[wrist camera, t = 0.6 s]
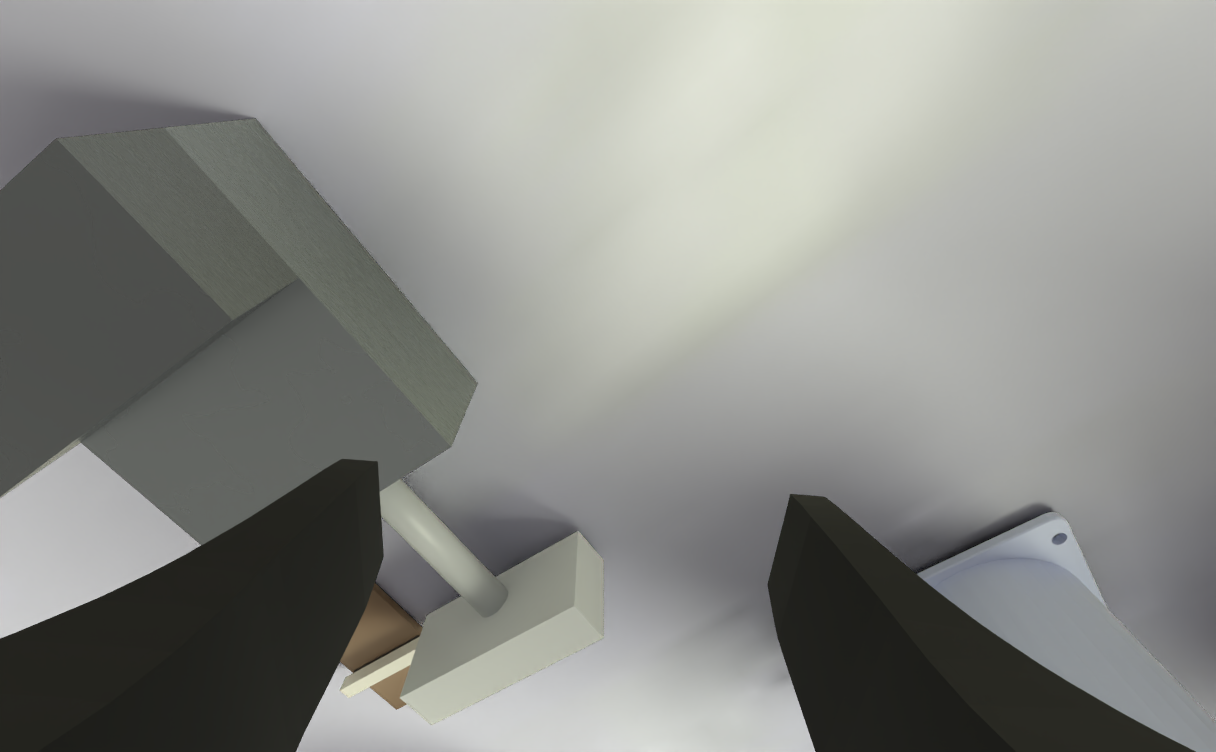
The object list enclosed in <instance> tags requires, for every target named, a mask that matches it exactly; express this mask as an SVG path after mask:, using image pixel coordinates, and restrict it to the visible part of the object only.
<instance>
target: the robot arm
mask: <svg viewBox="0 0 1216 752" xmlns="http://www.w3.org/2000/svg"><path fill="white" fill-rule="evenodd" d="M1056 534H1058V535H1057V536H1055V535H1056ZM1054 536H1055V537H1054ZM383 557H384V556H383V539H382V522H381V505H380V489H379V472H378V461H366V460H353V459H341V460H339V461H337V462H335V463H334V464H332V465H330V466H329V467H327V468H325V469H324V470H322V471H321V472H319V473H318V474H316V475H314V476H313V477H311V478H310V479H308V480H307V481H305V482H304V483H302V484H301V485H299V486H298V487H296V488H295V489H293V490H291V491H290V492H288V493H287V494H285V495H284V496H282V497H281V498H279V499H277V500H276V501H274V502H273V503H271V504H270V505H268V506H266V507H265V508H263V509H262V510H260V511H259V512H257V513H255V514H254V515H252V516H251V517H249V518H248V519H246V520H244V521H243V522H241V523H239V524H237V525H236V526H234V527H232V528H231V529H229V530H227V531H225V532H224V533H222V534H220V535H219V536H217V537H215V538H213V539H212V540H210V541H208V542H206V543H205V544H203V545H201V546H200V547H198V548H196V549H194V550H193V551H191V552H189V553H188V554H186V555H184V556H182V557H180V558H178V559H176V560H175V561H173V562H171V563H169V564H167V565H165V566H163V567H161V568H159V569H157V570H155V571H153V572H152V573H150V574H148V575H145V576H143V577H141V578H139V579H137V580H135V581H133V582H131V583H129V584H127V585H125V586H123V587H121V588H119V589H117V590H114V591H112V592H110V593H108V594H106V595H104V596H102V597H99V598H97V599H95V600H93V601H90V602H88V603H85V604H83V605H81V606H78V607H76V608H74V609H71V610H69V611H66V612H64V613H62V614H59V615H57V616H54V617H52V618H50V619H47V620H45V621H42V622H40V623H38V624H35V625H33V626H31V627H28V628H26V629H23V630H21V631H19V632H16V633H14V634H11V635H9V636H6V637H3V638H1V639H0V752H296V750H297V748H298V745H299V743H300V741H301V739H302V736H303V734H304V732H305V730H306V728H307V726H308V724H309V722H310V720H311V718H312V716H313V714H314V712H315V710H316V708H317V706H318V704H319V702H320V700H321V698H322V696H323V694H324V692H325V690H326V688H327V686H328V684H329V682H330V680H331V678H332V676H333V674H334V672H335V670H336V668H337V666H338V664H339V662H340V660H341V658H342V656H343V654H344V652H345V650H346V648H347V646H348V644H349V642H350V640H351V638H352V636H353V634H354V632H355V630H356V628H357V626H358V624H359V622H360V620H361V618H362V615H363V613H364V611H365V609H366V606H367V604H368V601H369V598H370V595H371V592H372V590H373V587H374V584H375V581H376V578H377V575H378V572H379V569H380V566H381V563H382V560H383ZM768 589H769V595H770V601H771V606H772V612H773V617H774V622H775V627H776V631H777V636H778V640H779V643H780V646H781V650H782V653H783V656H784V659H785V662H786V665H787V668H788V671H789V674H790V677H791V680H792V683H793V686H794V689H795V692H796V695H797V698H798V701H799V704H800V707H801V710H802V713H803V716H804V719H805V722H806V725H807V728H808V731H809V734H810V737H811V739H812V742H813V745H814V748H815V751H816V752H1216V721H1215V720H1214V719H1213V718H1212V717H1211V716H1210V715H1209V714H1208V713H1207V712H1206V711H1205V710H1204V709H1203V707H1202V706H1201V705H1200V704H1199V703H1198V702H1197V701H1196V700H1195V699H1194V698H1193V697H1192V696H1191V695H1190V694H1189V693H1188V692H1187V691H1186V690H1185V689H1184V688H1183V687H1182V686H1181V685H1180V684H1179V683H1178V681H1177V680H1176V679H1175V678H1174V677H1173V676H1172V675H1171V674H1170V673H1169V672H1168V671H1167V670H1166V669H1165V668H1164V667H1163V666H1162V665H1161V664H1160V663H1159V662H1158V661H1157V660H1156V659H1155V658H1154V657H1153V655H1152V654H1151V653H1150V652H1149V651H1148V650H1147V649H1146V648H1145V647H1144V646H1143V645H1142V644H1141V643H1140V642H1139V641H1138V640H1137V639H1136V638H1135V637H1134V636H1133V635H1132V634H1131V633H1130V632H1129V631H1128V629H1127V628H1126V627H1125V626H1124V625H1123V624H1122V623H1121V622H1120V621H1119V620H1118V619H1117V618H1116V617H1115V616H1114V615H1113V614H1112V613H1111V612H1110V611H1109V610H1108V608H1107V605H1106V603H1105V601H1104V599H1103V597H1102V595H1101V592H1100V590H1099V588H1098V586H1097V584H1096V582H1095V579H1094V577H1093V575H1092V573H1091V571H1090V568H1089V566H1088V564H1087V562H1086V560H1085V558H1084V555H1083V553H1082V551H1081V549H1080V547H1079V545H1078V542H1077V540H1076V538H1075V536H1074V534H1073V531H1072V529H1071V527H1070V525H1069V523H1068V521H1067V520H1066V519H1065V518H1064V517H1063V516H1062V515H1061V514H1059V513H1057V512H1049V513H1045V514H1043V515H1041V516H1038V517H1036V518H1034V519H1032V520H1030V521H1028V522H1026V523H1024V524H1021V525H1019V526H1017V527H1015V528H1013V529H1011V530H1009V531H1007V532H1005V533H1002V534H1000V535H998V536H996V537H994V538H992V539H990V540H988V541H985V542H983V543H981V544H979V545H977V546H975V547H973V548H971V549H968V550H966V551H964V552H962V553H960V554H958V555H956V556H954V557H951V558H949V559H947V560H945V561H943V562H941V563H939V564H937V565H934V566H932V567H930V568H928V569H926V570H924V571H922V572H920V573H918V574H916V573H914V572H913V571H912V570H911V569H910V568H908V567H907V566H906V565H905V564H904V563H902V562H901V561H900V560H899V559H898V558H897V557H895V556H894V555H893V554H892V553H891V552H890V551H888V550H887V549H886V548H885V547H884V546H883V545H881V544H880V543H879V542H878V541H877V540H876V539H874V538H873V537H872V536H871V535H870V534H869V533H868V532H866V531H865V530H864V529H863V528H862V527H861V526H860V525H858V524H857V523H856V522H855V521H854V520H853V519H851V518H850V517H849V516H848V515H847V514H846V513H844V512H843V511H842V510H841V509H840V508H838V507H837V506H836V505H835V504H833V503H832V502H831V501H830V500H828V499H827V498H826V497H821V496H808V495H796V494H790V498H789V502H788V506H787V510H786V514H785V518H784V522H783V526H782V530H781V534H780V538H779V542H778V546H777V550H776V553H775V557H774V561H773V565H772V569H771V573H770V577H769V581H768Z"/></svg>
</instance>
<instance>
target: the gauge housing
mask: <svg viewBox="0 0 1216 752" xmlns="http://www.w3.org/2000/svg"><path fill="white" fill-rule="evenodd" d="M477 384H478V383H477V382H476V381H475V379H474V378H473V377H472V376H471V375H470V374H469V372H468V371H467V370H466V369H465V368H464V366H463V365H462V364H461V363H460V362H459V360H458V359H457V358H456V357H455V356H454V354H453V353H452V352H451V351H450V350H449V348H448V347H447V346H446V345H445V344H444V343H443V341H442V340H441V339H440V338H439V337H438V335H437V334H436V333H435V332H434V331H433V329H432V328H431V327H430V326H429V325H428V323H427V322H426V321H425V320H424V319H423V317H422V316H421V315H420V314H419V313H418V312H417V310H416V309H415V308H414V307H413V306H412V304H411V303H410V302H409V301H408V300H407V298H406V297H405V296H404V295H403V294H402V292H401V291H400V290H399V289H398V288H397V287H396V285H395V284H394V283H393V282H392V281H391V279H390V278H389V277H388V276H387V275H386V273H385V272H384V271H383V270H382V269H381V267H380V266H379V265H378V264H377V263H376V261H375V260H374V259H373V258H372V257H371V256H370V254H369V253H368V252H367V251H366V250H365V248H364V247H363V246H362V245H361V244H360V242H359V241H358V240H357V239H356V238H355V236H354V235H353V234H352V233H351V232H350V231H349V229H348V228H347V227H346V226H345V225H344V223H343V222H342V221H341V220H340V219H339V217H338V216H337V215H336V214H335V213H334V211H333V210H332V209H331V208H330V207H329V205H328V204H327V203H326V202H325V201H324V200H323V198H322V197H321V196H320V195H319V194H318V192H317V191H316V190H315V189H314V188H313V186H312V185H311V184H310V183H309V182H308V180H307V179H306V178H305V177H304V176H303V174H302V173H301V172H300V171H299V170H298V169H297V167H296V166H295V165H294V164H293V163H292V161H291V160H290V159H289V158H288V157H287V155H286V154H285V153H284V152H283V151H282V149H281V148H280V147H279V146H278V145H277V144H276V142H275V141H274V140H273V139H272V138H271V136H270V135H269V134H268V133H267V132H266V130H265V129H264V128H263V127H262V126H261V124H260V123H259V122H258V121H257V120H256V118H254V119H244V120H234V121H224V122H215V123H205V124H195V125H185V126H175V127H165V128H155V129H145V130H135V131H125V132H116V133H106V134H96V135H86V136H76V137H66V138H56V139H55V140H54V141H53V142H52V143H51V144H50V145H49V146H48V147H47V148H45V149H44V150H43V151H42V152H41V153H40V154H39V155H38V156H37V157H36V158H35V159H34V160H33V161H32V162H31V163H29V164H28V165H27V166H26V167H25V168H24V169H23V170H22V171H21V172H20V173H19V174H18V175H17V176H16V177H14V178H13V179H12V180H11V181H10V182H9V183H8V184H7V185H6V186H5V187H4V188H3V189H2V190H1V191H0V498H1V497H3V496H4V495H6V494H7V493H9V492H10V491H11V490H13V489H14V488H16V487H17V486H19V485H20V484H22V483H23V482H24V481H26V480H27V479H29V478H30V477H32V476H33V475H35V474H36V473H38V472H39V471H40V470H42V469H43V468H45V467H46V466H48V465H49V464H51V463H52V462H53V461H55V460H56V459H58V458H59V457H61V456H62V455H64V454H65V453H67V452H68V451H69V450H71V449H72V448H74V447H75V446H77V445H78V444H80V443H82V444H83V445H84V446H85V447H87V448H88V449H89V450H90V451H91V452H92V453H94V454H95V455H96V456H97V457H98V458H100V459H101V460H102V461H103V462H104V463H105V464H107V465H108V466H109V467H110V468H111V469H112V470H114V471H115V472H116V473H117V474H118V475H120V476H121V477H122V478H123V479H124V480H125V481H127V482H128V483H129V484H130V485H131V486H132V487H134V488H135V489H136V490H137V491H138V492H140V493H141V494H142V495H143V496H144V497H145V498H147V499H148V500H149V501H150V502H151V503H152V504H154V505H155V506H156V507H157V508H158V509H159V510H161V511H162V512H163V513H164V514H165V515H167V516H168V517H169V518H170V519H171V520H172V521H174V522H175V523H176V524H177V525H178V526H179V527H181V528H182V529H183V530H184V531H185V532H187V533H188V534H189V535H190V536H191V537H192V538H194V539H195V540H196V541H197V542H198V543H199V544H201V545H203V544H205V543H206V542H208V541H210V540H212V539H213V538H215V537H217V536H219V535H220V534H222V533H224V532H225V531H227V530H229V529H231V528H232V527H234V526H236V525H237V524H239V523H241V522H243V521H244V520H246V519H248V518H249V517H251V516H252V515H254V514H255V513H257V512H259V511H260V510H262V509H263V508H265V507H266V506H268V505H270V504H271V503H273V502H274V501H276V500H277V499H279V498H281V497H282V496H284V495H285V494H287V493H288V492H290V491H291V490H293V489H295V488H296V487H298V486H299V485H301V484H302V483H304V482H305V481H307V480H308V479H310V478H311V477H313V476H314V475H316V474H318V473H319V472H321V471H322V470H324V469H325V468H327V467H329V466H330V465H332V464H334V463H335V462H337V461H339V460H341V459H353V460H366V461H378V472H379V489H380V491H382V490H383V489H385V488H387V487H388V486H390V485H391V484H393V483H395V482H396V481H398V480H399V479H401V478H403V477H404V476H406V475H407V474H409V473H411V472H412V471H414V470H415V469H417V468H419V467H420V466H422V465H423V464H425V463H426V462H428V461H430V460H431V459H433V458H434V457H436V456H438V455H439V454H441V453H442V452H444V451H446V450H447V449H449V448H450V447H451V446H452V444H453V442H454V439H455V437H456V434H457V432H458V430H459V427H460V425H461V422H462V420H463V418H464V415H465V413H466V410H467V408H468V405H469V403H470V401H471V398H472V396H473V393H474V391H475V389H476V386H477Z"/></svg>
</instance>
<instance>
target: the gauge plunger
mask: <svg viewBox="0 0 1216 752" xmlns="http://www.w3.org/2000/svg"><path fill="white" fill-rule="evenodd" d="M380 505H381V517H382V518H383V519H384V520H385V521H386V522H387V523H388V524H389V525H390V526H391V527H392V528H393V529H394V530H395V531H396V532H397V533H398V534H399V535H400V536H401V537H402V538H403V539H404V540H405V541H406V542H407V543H408V544H409V545H410V546H411V547H412V548H413V549H414V550H416V551H417V552H418V553H419V554H420V555H421V556H422V557H423V558H424V559H425V560H426V561H427V562H428V563H429V564H430V565H431V566H432V567H433V568H434V569H435V570H436V571H437V572H438V573H439V574H440V575H441V576H442V577H443V578H444V579H445V580H446V581H447V582H448V583H449V584H450V585H451V586H452V587H453V588H454V589H455V590H456V591H457V592H458V593H459V594H460V595H461V596H460V597H459V598H457V599H455V600H453V601H451V602H450V603H448V604H446V605H444V606H442V607H441V608H439V609H437V610H435V611H434V612H432V613H430V614H428V615H427V616H426V619H425V622H424V625H423V628H422V631H421V634H420V637H418V638H416V639H415V640H413V641H411V642H409V643H407V644H406V645H404V646H402V647H400V648H398V649H396V650H395V651H393V652H391V653H389V654H387V655H386V656H384V657H382V658H380V659H378V660H376V661H375V662H373V663H371V664H369V665H367V666H366V667H364V668H362V669H360V670H358V671H356V672H355V673H353V674H351V675H349V676H347V677H346V678H345V680H344V682H343V684H342V687H341V689H340V691H341V692H342V693H343V694H345V695H346V696H347V697H348V698H350V697H352V696H354V695H355V694H357V693H359V692H361V691H363V690H365V689H367V688H368V687H370V686H372V685H374V684H376V683H378V682H380V681H381V680H383V679H385V678H387V677H389V676H391V675H393V674H394V673H396V672H398V671H400V670H402V669H404V668H406V667H407V666H409V665H410V668H409V671H408V674H407V677H406V680H405V683H404V686H403V689H402V692H401V695H400V699H401V700H403V701H404V702H405V703H406V704H407V705H408V706H410V707H411V708H412V709H413V710H414V711H415V712H416V713H418V714H419V715H420V716H421V717H422V718H423V719H425V720H426V721H427V722H428V723H429V724H430V725H433V724H435V723H437V722H439V721H441V720H443V719H445V718H447V717H449V716H451V715H453V714H455V713H457V712H459V711H461V710H463V709H465V708H467V707H469V706H471V705H473V704H475V703H477V702H479V701H481V700H483V699H485V698H487V697H489V696H491V695H493V694H495V693H497V692H499V691H501V690H503V689H505V688H506V687H508V686H510V685H512V684H514V683H516V682H518V681H520V680H522V679H524V678H526V677H528V676H530V675H532V674H534V673H536V672H538V671H540V670H542V669H544V668H546V667H548V666H550V665H552V664H554V663H556V662H558V661H560V660H562V659H564V658H566V657H568V656H570V655H572V654H574V653H576V652H578V651H580V650H582V649H584V648H585V647H587V646H589V645H591V644H593V643H595V642H597V641H599V640H601V639H603V638H604V560H603V559H602V558H601V557H600V555H599V554H598V553H597V552H596V551H595V550H594V548H593V547H592V546H591V545H590V544H589V543H588V541H587V540H586V539H585V538H584V537H583V536H582V534H581V533H580V532H579V531H577V532H575V533H573V534H572V535H570V536H568V537H566V538H564V539H563V540H561V541H559V542H557V543H555V544H554V545H552V546H550V547H548V548H546V549H545V550H543V551H541V552H539V553H538V554H536V555H534V556H532V557H530V558H529V559H527V560H525V561H523V562H521V563H520V564H518V565H516V566H514V567H512V568H511V569H509V570H507V571H505V572H503V573H502V574H500V575H498V576H496V577H495V576H494V575H493V574H492V573H491V572H490V571H489V570H488V569H487V568H486V567H485V566H484V565H483V564H482V563H481V562H480V561H479V560H478V559H477V558H476V557H475V556H474V555H473V553H472V552H471V551H470V550H469V549H468V548H467V547H466V546H465V545H464V544H463V543H462V542H461V541H460V540H459V539H458V538H457V537H456V536H455V535H454V534H453V533H452V532H451V531H450V530H449V529H448V527H447V526H446V525H445V524H444V523H443V522H442V521H441V520H440V519H439V518H438V517H437V516H436V515H435V514H434V513H433V512H432V511H431V510H430V509H429V508H428V507H427V506H426V505H425V504H424V502H423V501H422V500H421V499H420V498H419V497H418V496H417V495H416V494H415V493H414V492H413V491H412V490H411V489H410V488H409V487H408V486H407V485H406V484H405V483H404V482H403V481H402V480H401V479H399V480H398V481H396V482H395V483H393V484H391V485H390V486H388V487H387V488H385V489H383V490H382V491H380Z"/></svg>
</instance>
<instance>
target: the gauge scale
mask: <svg viewBox="0 0 1216 752" xmlns="http://www.w3.org/2000/svg"><path fill="white" fill-rule="evenodd" d="M421 631H422V627H421V626H420V625H419V624H418V623H417V622H416V621H415V620H414V619H413V618H412V617H411V616H410V615H409V614H407V613H406V612H405V611H404V610H403V609H402V608H401V607H400V606H399V605H398V604H397V603H396V602H395V601H394V600H393V599H391V598H390V597H389V596H388V595H387V594H386V593H385V592H384V591H383V590H382V589H381V588H380V587H379V586H378V585H377V584H374V587H373V590H372V592H371V595H370V598H369V601H368V604H367V606H366V609H365V611H364V613H363V615H362V618H361V620H360V622H359V624H358V626H357V628H356V630H355V632H354V634H353V636H352V638H351V640H350V642H349V644H348V646H347V648H346V650H345V652H344V654H343V656H342V658H341V660H340V662H341V663H342V664H343V665H345V666H346V667H347V668H348V669H349V670H350V671H352V672H353V673H355V672H356V671H358V670H360V669H362V668H364V667H366V666H367V665H369V664H371V663H373V662H375V661H376V660H378V659H380V658H382V657H384V656H386V655H387V654H389V653H391V652H393V651H395V650H396V649H398V648H400V647H402V646H404V645H406V644H407V643H409V642H411V641H413V640H415V639H416V638H418V637H420V634H421ZM409 668H410V665H409V666H407V667H406V668H404V669H402V670H400V671H398V672H396V673H394V674H393V675H391V676H389V677H387V678H385V679H383V680H381V681H380V682H378V683H376V684H374V685H372V686H370V688H372V689H373V690H374V691H375V692H376V693H377V694H379V695H380V696H381V697H382V698H383V699H384V700H386V701H387V702H388V703H389V704H390V705H392V706H393V707H394V708H395V709H396V710H397V709H399V708H401V707H403V706H405V705H406V703H405V702H404V701H403V700H401V699H400V695H401V692H402V689H403V686H404V683H405V680H406V677H407V674H408V671H409Z"/></svg>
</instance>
